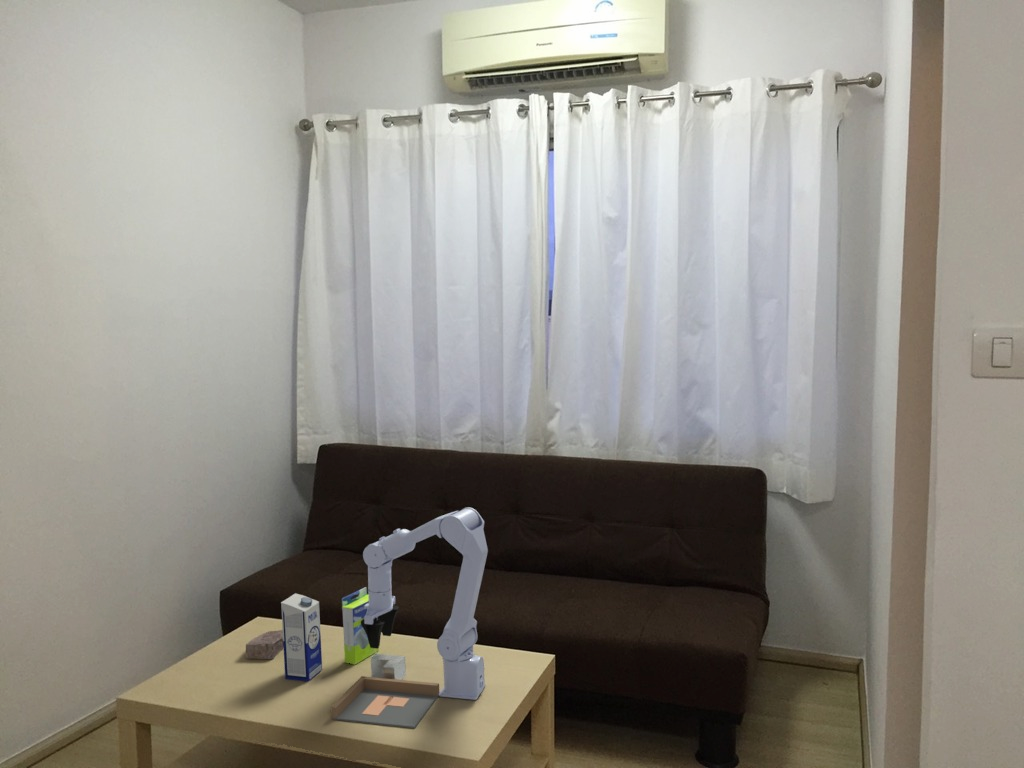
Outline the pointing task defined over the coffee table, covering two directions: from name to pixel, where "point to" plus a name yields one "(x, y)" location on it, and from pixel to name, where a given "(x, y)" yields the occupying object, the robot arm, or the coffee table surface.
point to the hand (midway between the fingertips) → (380, 641)
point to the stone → (265, 645)
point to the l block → (388, 666)
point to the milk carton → (301, 637)
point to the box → (355, 628)
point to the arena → (386, 702)
